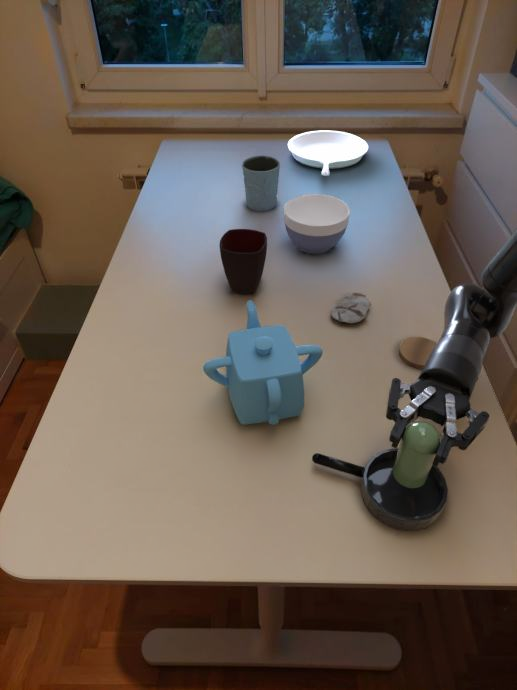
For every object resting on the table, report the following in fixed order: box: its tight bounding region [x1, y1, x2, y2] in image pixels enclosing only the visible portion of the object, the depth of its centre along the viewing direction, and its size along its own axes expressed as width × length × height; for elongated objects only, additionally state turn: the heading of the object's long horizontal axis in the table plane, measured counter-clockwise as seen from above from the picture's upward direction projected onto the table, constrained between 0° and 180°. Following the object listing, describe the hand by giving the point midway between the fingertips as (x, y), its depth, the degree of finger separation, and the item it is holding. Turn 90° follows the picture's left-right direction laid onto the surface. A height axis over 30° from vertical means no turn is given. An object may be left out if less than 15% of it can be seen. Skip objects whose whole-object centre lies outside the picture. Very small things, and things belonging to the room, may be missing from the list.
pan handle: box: [311, 452, 365, 479], centre depth 77 cm, size 9×2×2 cm, turn 69°
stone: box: [330, 292, 372, 324], centre depth 106 cm, size 10×7×3 cm
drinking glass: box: [241, 155, 281, 212], centre depth 138 cm, size 10×10×12 cm
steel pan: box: [360, 447, 449, 532], centre depth 75 cm, size 12×12×3 cm
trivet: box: [398, 336, 437, 370], centre depth 97 cm, size 8×8×1 cm
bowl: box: [283, 193, 351, 255], centre depth 124 cm, size 16×16×10 cm
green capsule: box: [393, 420, 441, 488], centre depth 68 cm, size 5×5×10 cm
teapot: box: [202, 300, 323, 426], centre depth 86 cm, size 18×16×14 cm
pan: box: [287, 129, 369, 177], centre depth 161 cm, size 26×39×5 cm
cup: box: [218, 228, 268, 295], centre depth 111 cm, size 10×14×12 cm
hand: (415, 452), depth 64 cm, fingers closed on green capsule, 4 cm apart
